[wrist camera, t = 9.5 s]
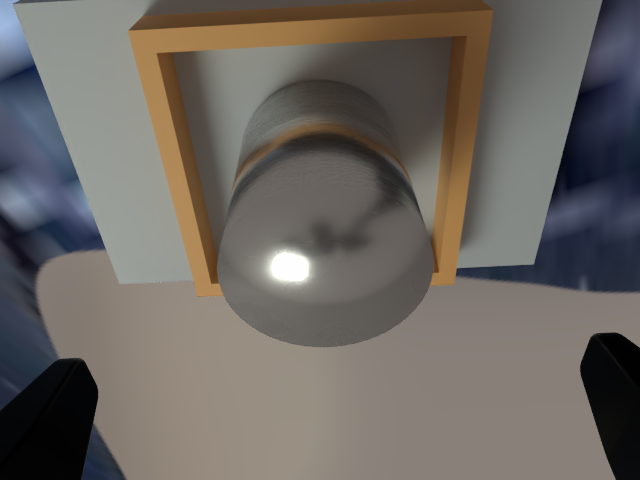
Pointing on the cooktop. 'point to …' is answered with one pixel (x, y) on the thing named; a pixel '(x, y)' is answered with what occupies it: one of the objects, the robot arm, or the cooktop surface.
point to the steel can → (323, 220)
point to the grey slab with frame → (297, 66)
